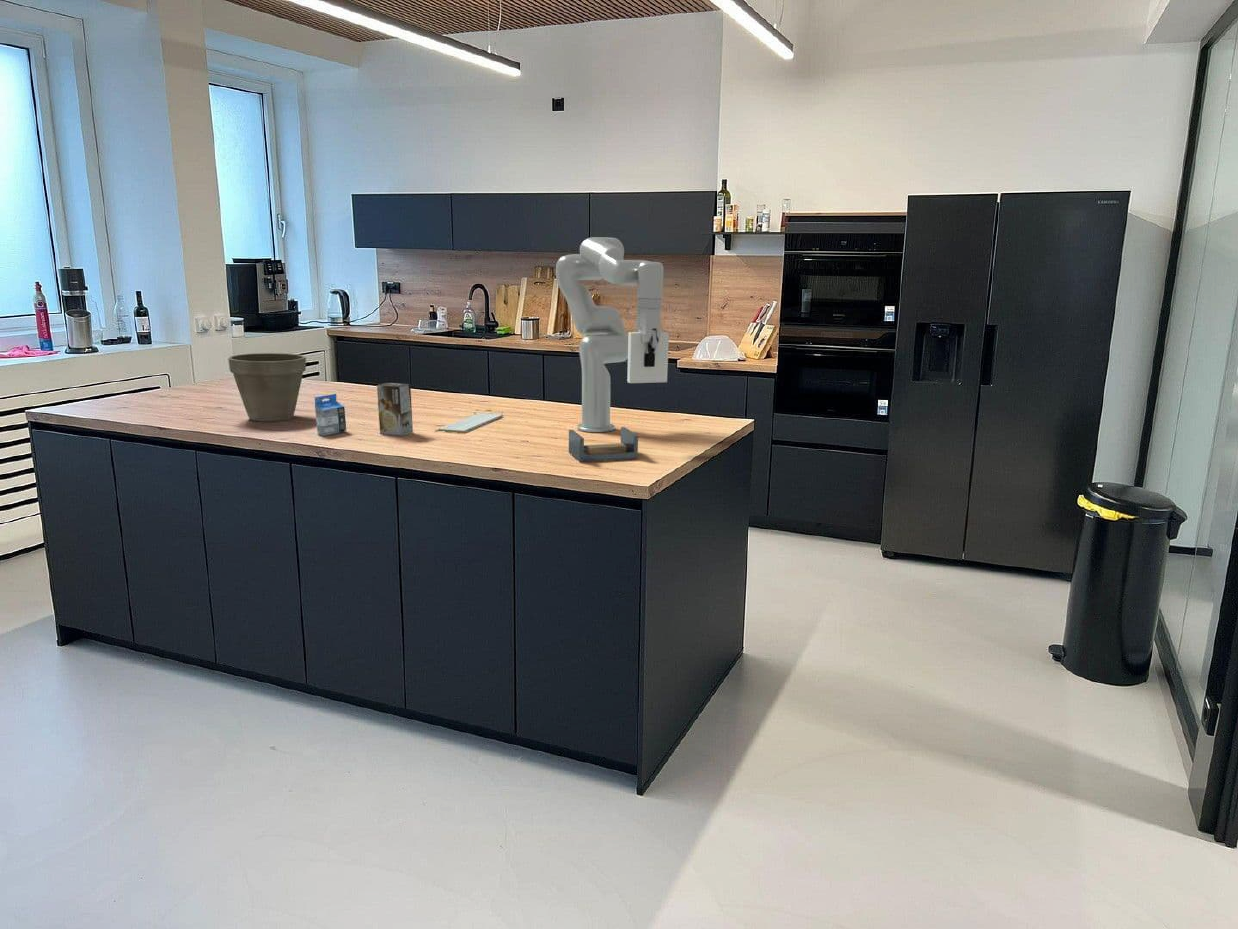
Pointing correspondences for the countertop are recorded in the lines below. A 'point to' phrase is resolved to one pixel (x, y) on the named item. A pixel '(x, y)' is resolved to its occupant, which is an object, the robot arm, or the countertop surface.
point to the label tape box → (329, 415)
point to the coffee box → (395, 409)
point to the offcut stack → (605, 448)
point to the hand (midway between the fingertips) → (647, 365)
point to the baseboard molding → (470, 422)
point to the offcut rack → (578, 453)
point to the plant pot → (268, 383)
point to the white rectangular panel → (636, 360)
